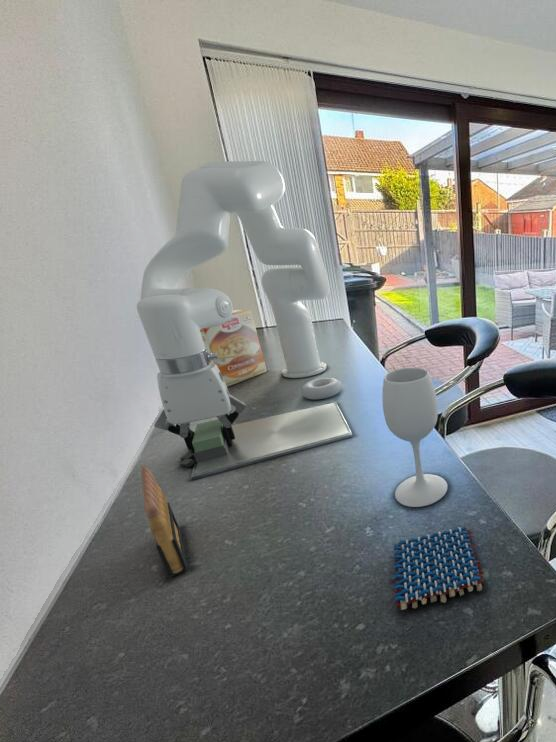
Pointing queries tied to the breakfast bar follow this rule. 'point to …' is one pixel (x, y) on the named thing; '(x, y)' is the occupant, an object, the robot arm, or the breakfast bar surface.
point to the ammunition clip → (163, 525)
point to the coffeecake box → (235, 347)
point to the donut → (321, 388)
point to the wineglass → (413, 429)
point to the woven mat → (435, 567)
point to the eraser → (209, 441)
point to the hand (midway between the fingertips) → (213, 446)
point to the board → (278, 437)
